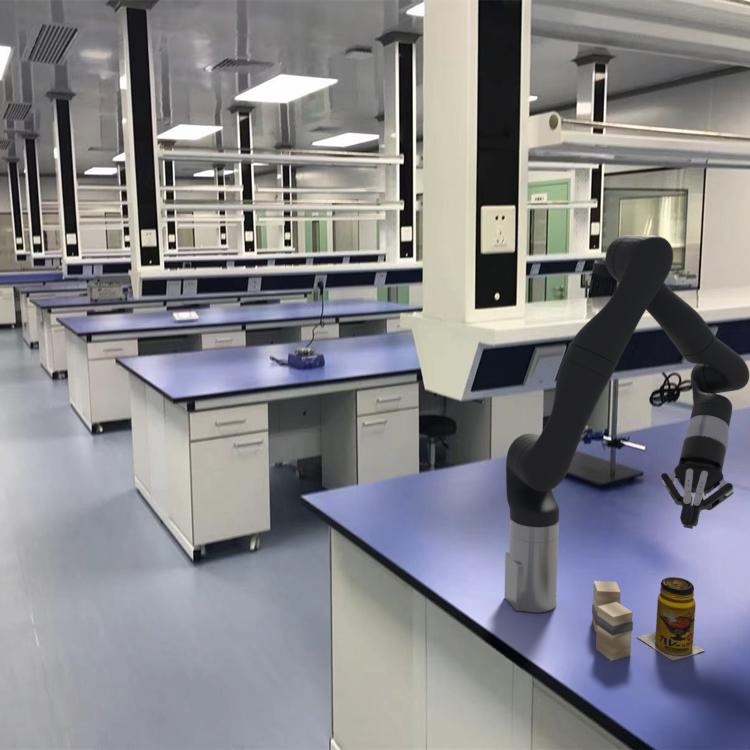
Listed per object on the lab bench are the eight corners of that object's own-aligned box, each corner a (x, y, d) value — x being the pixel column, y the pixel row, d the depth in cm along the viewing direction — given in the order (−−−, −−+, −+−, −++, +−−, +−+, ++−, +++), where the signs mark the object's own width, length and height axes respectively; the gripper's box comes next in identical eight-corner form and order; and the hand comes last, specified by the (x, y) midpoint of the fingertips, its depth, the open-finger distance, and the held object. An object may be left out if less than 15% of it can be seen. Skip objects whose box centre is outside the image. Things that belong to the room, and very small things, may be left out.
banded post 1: (595, 632, 134) (596, 591, 132) (591, 620, 138) (593, 580, 136) (619, 633, 133) (621, 592, 132) (614, 622, 137) (616, 581, 136)
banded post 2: (611, 661, 124) (613, 617, 123) (595, 649, 128) (596, 606, 127) (631, 655, 126) (633, 612, 125) (614, 643, 130) (616, 601, 128)
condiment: (673, 661, 124) (677, 595, 122) (636, 637, 132) (640, 574, 130) (705, 651, 127) (710, 586, 125) (667, 628, 135) (671, 567, 133)
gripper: (666, 429, 142) (646, 510, 134) (742, 439, 135) (726, 524, 127) (670, 450, 147) (652, 528, 139) (744, 459, 140) (729, 543, 132)
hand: (687, 526), depth 133 cm, fingers closed
